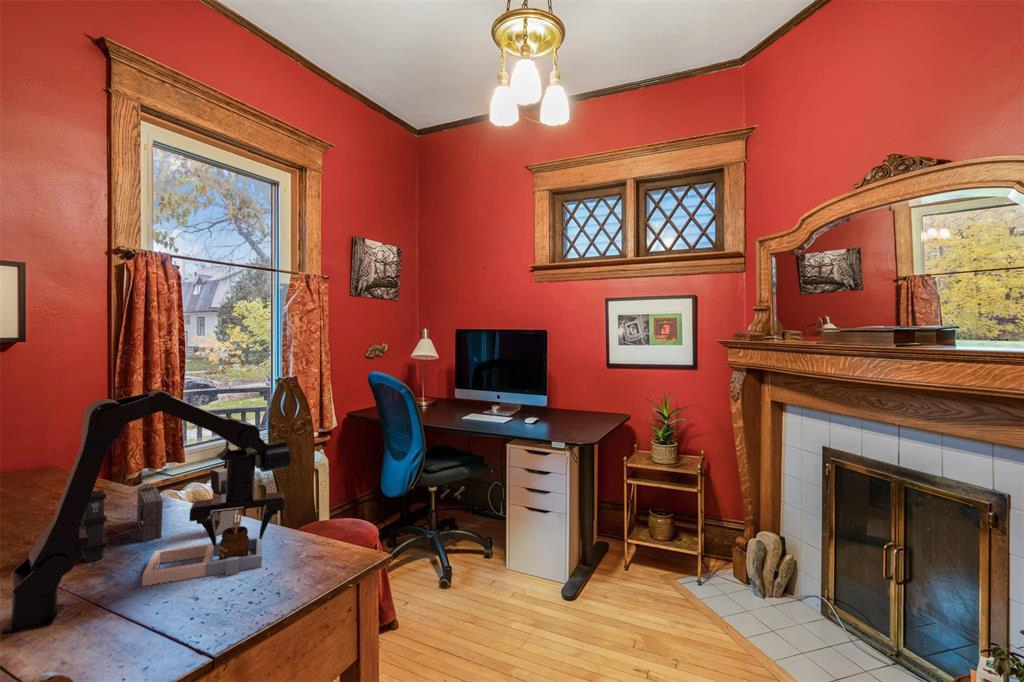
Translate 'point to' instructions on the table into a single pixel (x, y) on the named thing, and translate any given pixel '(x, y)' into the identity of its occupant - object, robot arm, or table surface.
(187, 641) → the table surface
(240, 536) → the utensil holder
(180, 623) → the table surface
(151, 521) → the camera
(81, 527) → the dark ridged block
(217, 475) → the vintage mobile phone
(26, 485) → the table surface
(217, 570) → the beige grey rectangular frame
